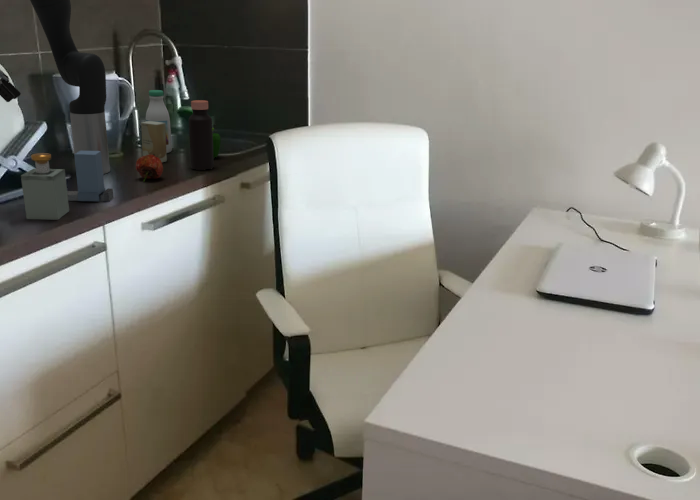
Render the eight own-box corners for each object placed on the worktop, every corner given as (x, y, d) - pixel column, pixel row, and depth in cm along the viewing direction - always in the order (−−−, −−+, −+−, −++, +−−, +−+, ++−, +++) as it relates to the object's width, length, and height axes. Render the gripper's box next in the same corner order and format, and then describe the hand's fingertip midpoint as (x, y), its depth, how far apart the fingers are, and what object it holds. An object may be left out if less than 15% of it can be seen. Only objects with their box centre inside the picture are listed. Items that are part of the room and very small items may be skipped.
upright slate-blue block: (85, 195, 173) (81, 150, 169) (105, 195, 173) (101, 150, 169) (78, 200, 167) (73, 154, 164) (98, 201, 168) (94, 155, 164)
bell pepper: (188, 157, 220) (187, 126, 216) (209, 154, 226) (208, 124, 222) (205, 161, 214) (204, 130, 211) (225, 158, 220) (224, 127, 217)
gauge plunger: (39, 182, 156) (35, 152, 154) (57, 183, 156) (53, 153, 154) (32, 187, 153) (28, 156, 150) (50, 187, 153) (46, 156, 150)
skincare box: (142, 161, 212) (139, 122, 208) (151, 159, 216) (148, 120, 212) (159, 164, 210) (157, 124, 206) (168, 161, 214) (165, 122, 210)
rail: (31, 196, 171) (30, 186, 170) (113, 197, 172) (112, 188, 171) (25, 199, 168) (24, 190, 167) (109, 201, 169) (108, 192, 168)
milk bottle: (153, 148, 231) (149, 88, 224) (175, 150, 230) (172, 89, 223) (144, 153, 224) (139, 91, 217) (166, 154, 223) (162, 92, 216)
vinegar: (194, 165, 209) (190, 99, 202) (216, 166, 209) (213, 100, 202) (188, 170, 203) (185, 102, 196) (211, 171, 203) (208, 103, 196)
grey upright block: (39, 210, 160) (33, 168, 157) (69, 210, 160) (64, 169, 157) (26, 219, 153) (20, 175, 150) (58, 219, 154) (53, 176, 150)
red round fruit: (160, 190, 189) (173, 163, 194) (146, 173, 183) (160, 145, 189) (138, 190, 192) (151, 163, 197) (124, 173, 186) (138, 145, 191)
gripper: (-36, 32, 150) (22, 90, 157) (-22, 32, 163) (31, 86, 170) (-62, 54, 150) (-3, 111, 156) (-46, 52, 163) (8, 105, 170)
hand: (14, 98), depth 163 cm, fingers open, 8 cm apart
